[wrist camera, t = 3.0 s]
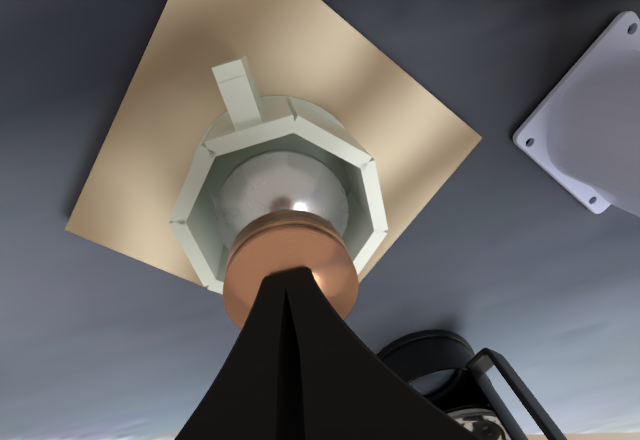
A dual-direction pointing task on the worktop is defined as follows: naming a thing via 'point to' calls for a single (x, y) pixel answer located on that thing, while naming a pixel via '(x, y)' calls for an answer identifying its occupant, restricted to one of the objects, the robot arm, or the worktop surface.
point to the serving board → (271, 79)
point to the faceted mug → (262, 135)
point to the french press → (467, 384)
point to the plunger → (284, 228)
